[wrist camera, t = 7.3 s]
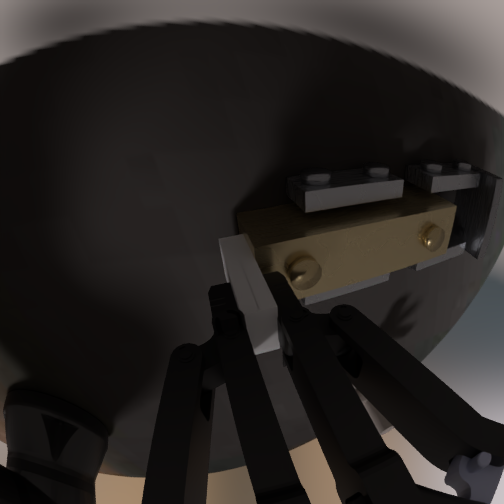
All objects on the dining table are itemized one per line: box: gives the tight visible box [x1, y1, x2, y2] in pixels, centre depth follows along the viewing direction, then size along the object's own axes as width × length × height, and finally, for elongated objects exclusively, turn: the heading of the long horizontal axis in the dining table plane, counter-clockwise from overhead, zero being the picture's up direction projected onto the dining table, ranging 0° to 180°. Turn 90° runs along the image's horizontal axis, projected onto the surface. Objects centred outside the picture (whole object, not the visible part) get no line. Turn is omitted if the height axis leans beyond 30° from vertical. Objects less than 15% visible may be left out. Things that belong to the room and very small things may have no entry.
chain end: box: [286, 162, 404, 305], centre depth 18 cm, size 7×9×3 cm
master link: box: [237, 185, 457, 299], centre depth 18 cm, size 15×4×5 cm, turn 96°
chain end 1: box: [405, 159, 503, 271], centre depth 19 cm, size 9×9×4 cm
